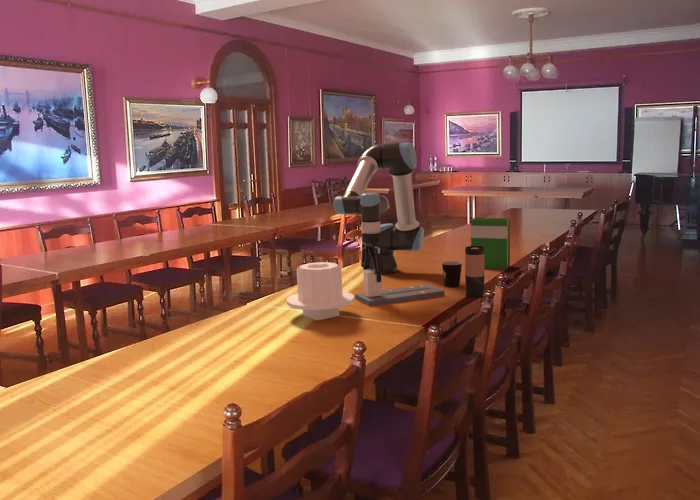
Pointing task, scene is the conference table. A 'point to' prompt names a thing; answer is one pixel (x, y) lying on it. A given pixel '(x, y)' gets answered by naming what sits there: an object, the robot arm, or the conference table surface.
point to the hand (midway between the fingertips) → (372, 287)
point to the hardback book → (492, 240)
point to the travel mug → (474, 271)
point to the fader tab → (370, 284)
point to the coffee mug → (452, 273)
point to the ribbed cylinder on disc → (320, 291)
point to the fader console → (401, 295)
